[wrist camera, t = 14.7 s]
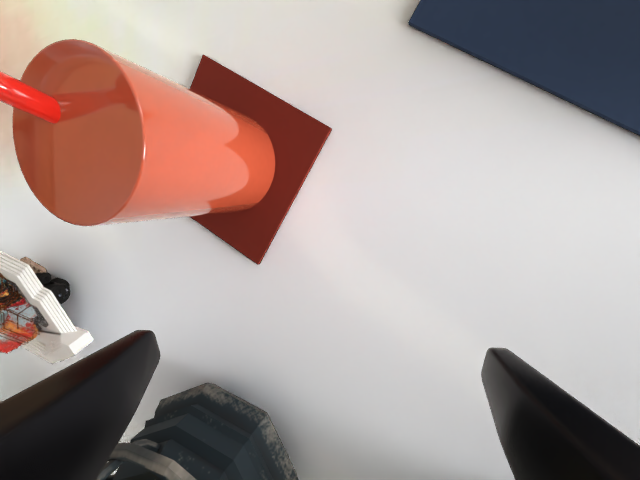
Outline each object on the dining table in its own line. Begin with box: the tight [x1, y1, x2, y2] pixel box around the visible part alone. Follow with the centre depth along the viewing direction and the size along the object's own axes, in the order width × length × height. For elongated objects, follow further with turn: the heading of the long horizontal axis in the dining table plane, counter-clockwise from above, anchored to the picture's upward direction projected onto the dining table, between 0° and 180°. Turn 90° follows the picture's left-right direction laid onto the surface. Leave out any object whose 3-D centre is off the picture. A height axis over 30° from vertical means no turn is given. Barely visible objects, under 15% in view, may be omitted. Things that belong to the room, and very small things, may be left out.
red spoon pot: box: [0, 39, 275, 226], centre depth 12 cm, size 9×6×17 cm
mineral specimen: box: [0, 251, 94, 364], centre depth 25 cm, size 12×12×7 cm
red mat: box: [190, 55, 332, 264], centre depth 21 cm, size 10×10×1 cm
